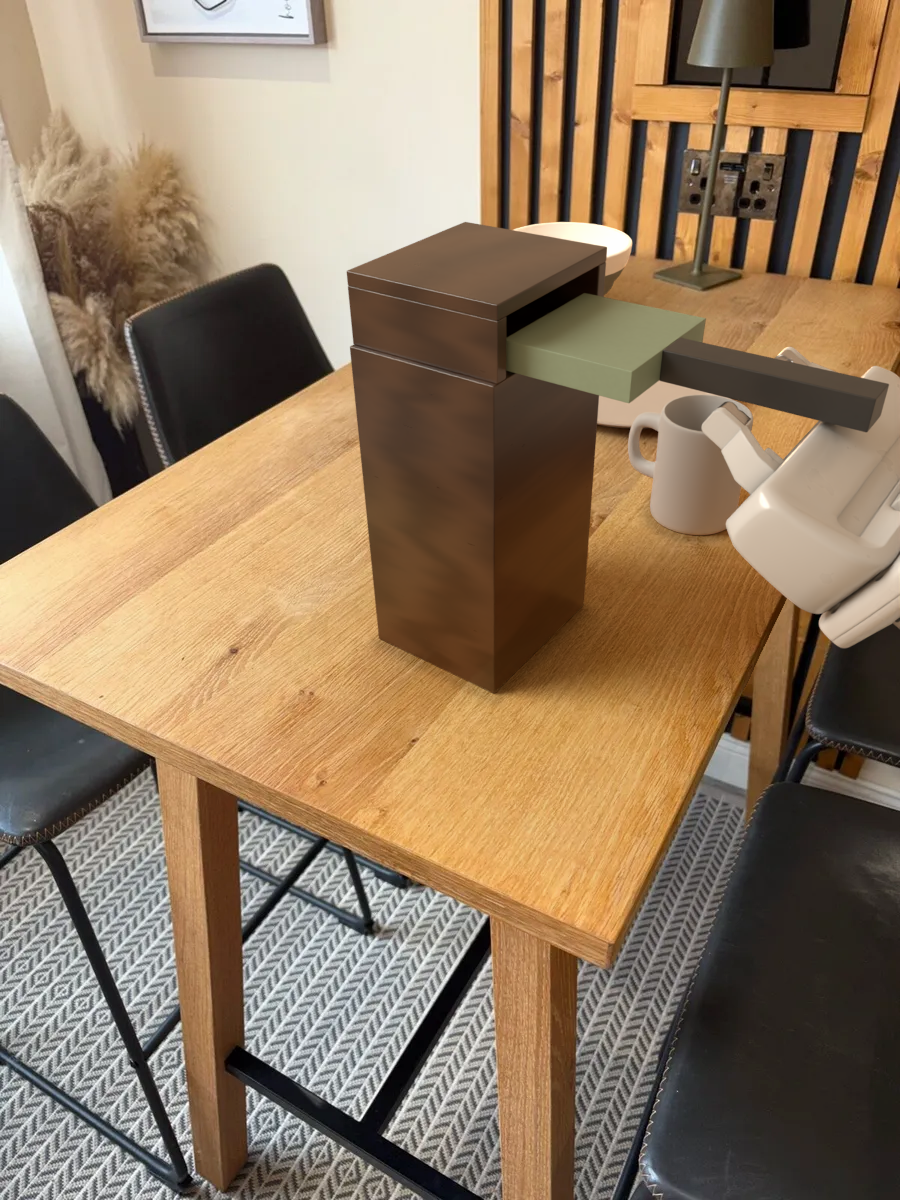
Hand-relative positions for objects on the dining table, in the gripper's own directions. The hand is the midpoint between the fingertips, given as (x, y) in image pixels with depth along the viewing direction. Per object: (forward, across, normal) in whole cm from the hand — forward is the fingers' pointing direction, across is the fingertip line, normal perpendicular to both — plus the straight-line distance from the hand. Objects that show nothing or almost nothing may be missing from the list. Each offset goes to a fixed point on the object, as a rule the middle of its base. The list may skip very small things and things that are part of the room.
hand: (745, 383), depth 55 cm
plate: (+13, -48, +39) cm, 63 cm away
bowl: (+33, -70, +50) cm, 92 cm away
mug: (-2, -26, +30) cm, 40 cm away
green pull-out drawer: (+3, 0, +2) cm, 3 cm away
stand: (+3, 0, +33) cm, 33 cm away
